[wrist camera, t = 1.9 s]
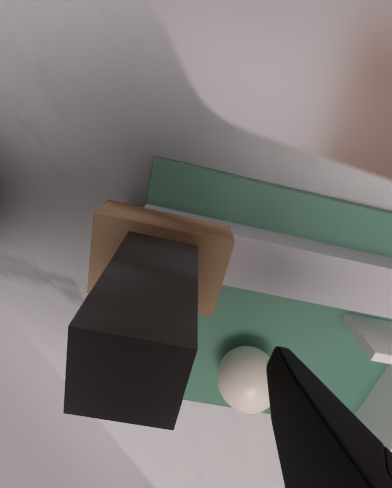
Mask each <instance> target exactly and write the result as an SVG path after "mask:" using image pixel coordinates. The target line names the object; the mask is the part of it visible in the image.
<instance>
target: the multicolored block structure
mask: <svg viewBox="0 0 392 488" xmlns="http://www.w3.org/2000/svg"><path fill="white" fill-rule="evenodd" d="M234 244H235V241H234V237H233V234H232V231H231V227H230V226H226V225H221V224H217V223H212V222H208V221H203V220H199V219H194V218H189V217H185V216H180V215H176V214H171V213H167V212H162V211H157V210H153V209H148V208H144V207H139V206H135V205H130V204H125V203H121V202H116V201H112V200H108V201H106V202H105V203H104V204H103V205H102V206H101V207H100V208H98V209H97V210H96V211H95V212H94V219H93V231H92V242H91V254H90V266H89V278H88V290H87V293H89V295H88V296H87V298H86V299H85V301H84V302H83V304H82V306H81V307H80V309H79V310H78V312H77V313H76V315H75V317H74V318H73V320H72V321H71V323H70V324H69V326H68V343H67V361H66V379H65V397H64V413H66V414H73V415H79V416H86V417H91V418H98V419H104V420H111V421H117V422H123V423H130V424H136V425H143V426H149V427H155V428H162V429H168V430H174V427H175V423H176V420H177V417H178V413H179V410H180V407H181V403H182V400H183V397H184V393H185V390H186V387H187V383H188V380H189V377H190V373H191V370H192V367H193V363H194V360H195V357H196V353H197V350H198V314H201V315H206V316H213V312H214V309H215V306H216V303H217V299H218V296H219V293H220V290H221V286H222V283H223V280H224V277H225V273H226V270H227V267H228V264H229V261H230V257H231V254H232V251H233V248H234Z"/></svg>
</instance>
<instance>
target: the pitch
mask: <svg viewBox="0 0 392 488" xmlns="http://www.w3.org/2000/svg"><path fill="white" fill-rule="evenodd" d="M144 208H148V209H153V210H157V211H162V212H167V213H171V214H176V215H180V216H185V217H189V218H194V219H199V220H203V221H208V222H212V223H217V224H221V225H226V226H230V227H231V231H232V234H233V237H234V241H235V244H234V248H233V251H232V254H231V257H230V261H229V264H228V267H227V270H226V273H225V277H224V280H223V283H222V286H221V290H220V293H219V296H218V299H217V303H216V306H215V309H214V312H213V316H206V315H201V314H198V350H197V353H196V357H195V360H194V363H193V367H192V370H191V373H190V377H189V380H188V383H187V387H186V390H185V393H184V397H183V399H184V400H190V401H196V402H202V403H208V404H214V405H220V406H226V407H231V406H230V405H229V404H228V403H227V402H226V401H225V400H224V398H223V397H222V395H221V393H220V391H219V387H218V383H217V372H218V367H219V364H220V362H221V360H222V359H223V357H224V356H225V355H226V354H227V353H228V352H229V351H230V350H232V349H234V348H236V347H240V346H252V347H256V348H258V349H260V350H262V351H264V352H265V353H266V354H267V355H268V356H269V357H270V356H271V354H272V352H273V349H274V348H275V347H276V346H281V347H286V348H289V349H290V350H291V351H292V352H293V353H294V354H295V355H296V356H297V357H298V358H299V359H300V360H301V361H302V362H303V363H304V364H305V365H306V366H307V367H308V368H309V369H310V370H311V371H312V372H313V373H314V374H315V375H316V376H317V377H318V378H319V379H320V380H321V381H322V382H323V383H324V384H325V385H326V386H327V387H328V388H329V389H330V390H331V391H332V392H333V393H334V394H335V395H336V396H337V397H338V399H339V400H340V401H341V402H342V403H343V404H344V405H345V406H346V407H347V408H348V409H349V410H350V411H351V412H352V413H353V414H354V415H355V416H356V417H357V418H358V419H359V420H360V421H361V422H362V423H363V424H364V425H365V426H366V427H367V428H368V429H369V430H370V431H371V432H372V433H373V434H374V435H375V436H376V437H377V438H378V439H379V440H380V441H381V442H382V443H383V445H384V446H385V447H387V448H388V449H389V450H390V451H391V452H392V212H391V211H387V210H383V209H378V208H374V207H370V206H366V205H361V204H357V203H353V202H349V201H344V200H340V199H336V198H332V197H327V196H323V195H319V194H315V193H310V192H306V191H302V190H297V189H293V188H289V187H285V186H280V185H276V184H272V183H268V182H263V181H259V180H255V179H251V178H246V177H242V176H238V175H234V174H229V173H225V172H221V171H216V170H212V169H208V168H204V167H199V166H195V165H191V164H187V163H182V162H178V161H174V160H170V159H165V158H161V157H157V156H156V157H155V158H154V159H153V165H152V171H151V177H150V184H149V190H148V196H147V202H146V205H145V206H144ZM262 413H268V414H271V412H270V407H269V408H267V409H266V410H264V411H263V412H262Z"/></svg>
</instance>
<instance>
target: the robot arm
mask: <svg viewBox="0 0 392 488" xmlns="http://www.w3.org/2000/svg"><path fill="white" fill-rule="evenodd" d="M266 374H267V383H268V393H269V403H270V412H271V420H272V425H273V430H274V435H275V440H276V445H277V450H278V455H279V459H280V464H281V469H282V474H283V479H284V484H285V488H392V452H391V451H390V450H389V449H388V448H387V447H385V446H384V445H383V443H382V442H381V441H380V440H379V439H378V438H377V437H376V436H375V435H374V434H373V433H372V432H371V431H370V430H369V429H368V428H367V427H366V426H365V425H364V424H363V423H362V422H361V421H360V420H359V419H358V418H357V417H356V416H355V415H354V414H353V413H352V412H351V411H350V410H349V409H348V408H347V407H346V406H345V405H344V404H343V403H342V402H341V401H340V400H339V399H338V397H337V396H336V395H335V394H334V393H333V392H332V391H331V390H330V389H329V388H328V387H327V386H326V385H325V384H324V383H323V382H322V381H321V380H320V379H319V378H318V377H317V376H316V375H315V374H314V373H313V372H312V371H311V370H310V369H309V368H308V367H307V366H306V365H305V364H304V363H303V362H302V361H301V360H300V359H299V358H298V357H297V356H296V355H295V354H294V353H293V352H292V351H291V350H290V349H289V348H286V347H281V346H276V347H275V348H274V349H273V352H272V354H271V356H270V358H269V361H268V363H267V367H266Z"/></svg>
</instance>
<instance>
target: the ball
mask: <svg viewBox="0 0 392 488" xmlns="http://www.w3.org/2000/svg"><path fill="white" fill-rule="evenodd" d="M269 358H270V357H269V356H268V355H267V354H266V353H265V352H264V351H262V350H260V349H258V348H256V347H252V346H240V347H236V348H234V349H232V350H230V351H229V352H228V353H227V354H226V355H225V356H224V357H223V359H222V360H221V362H220V364H219V367H218V372H217V383H218V387H219V391H220V393H221V395H222V397H223V398H224V400H225V401H226V402H227V403H228V404H229V405H230V406H231V407H232V408H233V409H235V410H237V411H239V412H241V413H245V414H256V413H260V412H263V411H264V410H266V409H267V408H269V407H270V403H269V393H268V383H267V374H266V367H267V363H268V361H269Z"/></svg>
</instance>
